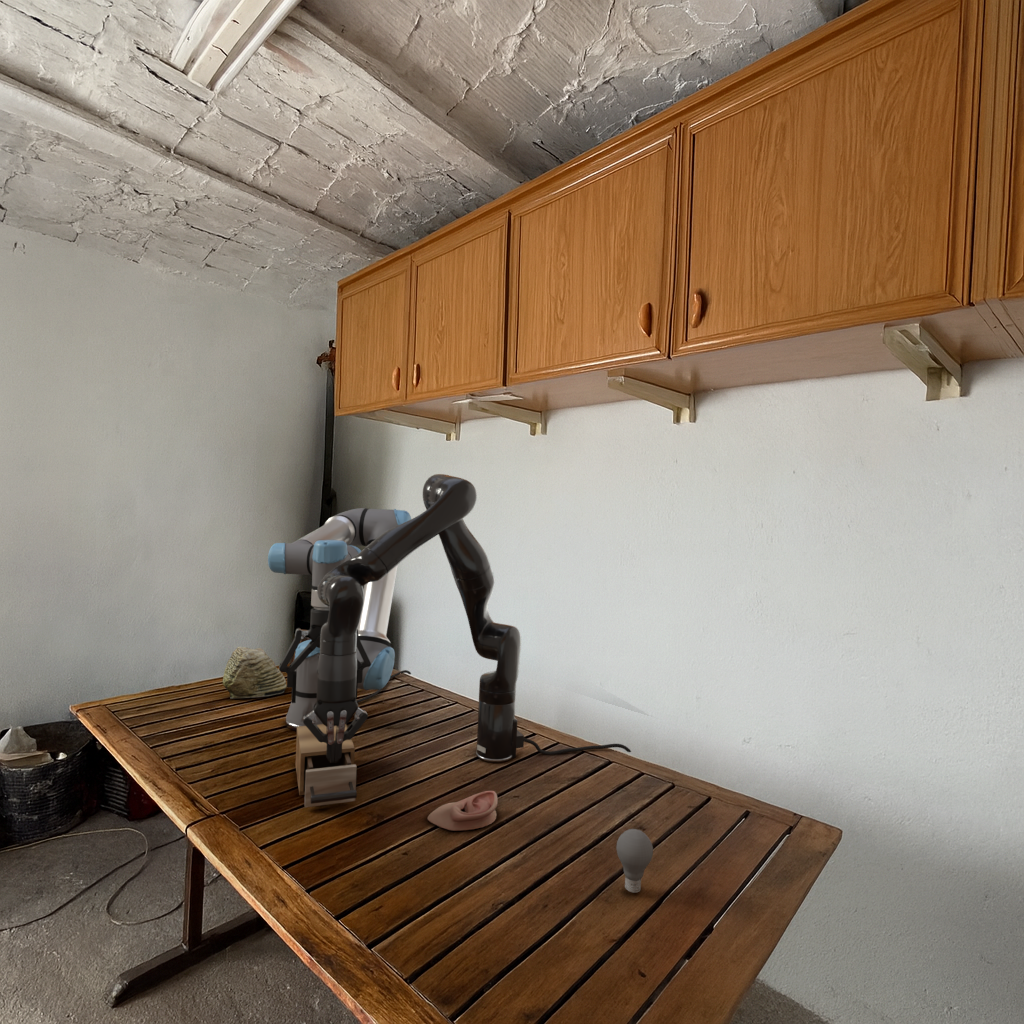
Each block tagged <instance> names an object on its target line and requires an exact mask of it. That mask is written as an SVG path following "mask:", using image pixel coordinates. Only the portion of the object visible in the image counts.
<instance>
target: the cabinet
mask: <svg viewBox="0 0 1024 1024" xmlns="http://www.w3.org/2000/svg"><path fill="white" fill-rule="evenodd" d="M317 726H318V727H319V729H320V730H321V731H322V732H323V733H324V734H326V726H325V725H324V724H321V725H317ZM347 728H348V725H347V724H345V731H346V729H347ZM345 731H344V732H345ZM335 736H336V726H334V740H335ZM295 741H296V742H295V746H296V747H295V771H296V780H297V786H298V795H299V796H305V778H304V766H305V757H306V756H316V755H325V754H326V749H327V744H326V743H325V742H319V741H318V740H317V738H316V737H315V736H314V735H313V734H312V733H311V731H310V730H309V729H308V728H307V727H306V726H298V727H297V731H296V740H295ZM355 751H356V748H355V745H354V742H353V738H352V739H350V740H345V741H344V742H343V743H342V753H345V752H348V754H349V757H350V760H351V765H353V764H355Z"/></svg>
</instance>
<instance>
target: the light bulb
mask: <svg viewBox="0 0 1024 1024" xmlns="http://www.w3.org/2000/svg"><path fill="white" fill-rule="evenodd" d="M615 849H616V854H617V857H618V859H619V861H620V863H621V865H622V867H623V873H624V874H623V875H624V876H625V878H624V888H625V890H627V891H628V892H630V893H634V894H635V893H639V892H640V891H641V889H642V887H641V886H642V879H643V877H644V875H645V871H646V868H647V867H648V866H649V864H650V863H651V861H652V859H653V855H654V847H653V843H652V841H651V838H649V836H648V835H647V834H646V833H645V832H643V831H642V830H641V829H636V828H629V829H627V830H625V831H623V832H622V833H621V834H620V835H619V837H618V839H617V841H616V847H615Z"/></svg>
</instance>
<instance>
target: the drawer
mask: <svg viewBox="0 0 1024 1024" xmlns="http://www.w3.org/2000/svg"><path fill="white" fill-rule="evenodd" d="M357 769H358V767H357V764H356V763H354V764H353V765H351V760H350V757H349V754H348V752H345V753H342V757H341V759H338V762H334V763H330V760H328V759H327V756H326V754H325V755H316V756H306V757H305V766H304V778H305V795H304V803H303V804H304V808H311V807H312V808H313V807H320V806H327V805H335V804H342V803H351V802H356V798H357V794H358V793H357V792H358V791H357Z"/></svg>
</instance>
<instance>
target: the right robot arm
mask: <svg viewBox="0 0 1024 1024" xmlns="http://www.w3.org/2000/svg"><path fill="white" fill-rule="evenodd" d="M477 493H478V492H477V490H476V487H475V486H474V484H473V483H472V482H470V481H469V480H467V479H464V478H462V477H457V476H453V475H449V474H444V473H435V474H433V475H431V476H429V477H428V478H427V479H426V481H425V483H424V484H423V487H422V501H423V505H424V507H425V510H424V511H423V512H422V513H420V514H418V515H417V516H415V517H413V518H411V520H409V521H407V522H405V523H403V524H400V525H398V526H396V527H394V528H392V529H390V530H388V531H386V532H385V533H383V534H382V535H380V536H379V537H378V538H376V539H375V540H374V541H373V542H371V543H370V544H369V545H368V546H364V548H363V549H362V550H361V552H360V553H359V554H358V555H356V556H354V557H353V558H351V559H349V560H347V561H345V562H344V563H342V564H340V565H339V566H337V567H336V568H334V569H333V570H331V571H330V572H329V573H327V574H326V575H325V576H324V577H323V578H322V580H321V581H320V583H319V585H318V589H317V594H318V597H319V599H320V601H321V602H322V603H323V604H325V605H327V606H329V615H328V622H326V623H325V624H324V625H323V626H322V628H321V634H320V655H319V660H318V669H317V674H318V676H317V700H316V703H315V705H314V708H313V709H314V710H313V711H312V712H310V713H309V714H308V715H304V716H303V723H304V724H305V726H306V727H307V728H308V729H309V730H310V731H311V733H312V734H313V735H314V736H315V737H316V738H317V740H318V741H319V742H325V743H326V744H327V749H326V756H327V759H328V760H330V763H334V762H338V759H341V757H342V743H343V742H344V741H345V740H350V739H352V740H353V738H354V736H355V735H356V734H357V733H358V731H359V730H360V728H361V727H362V726H363V724H364V723H366V721H367V719H368V718H369V715H368V713H367V711H366V710H365V709H362V708H360V707H359V703H357V702H356V700H357V698H356V680H357V656H356V648H357V628H358V625H359V622H360V618H361V614H362V609H363V604H364V585H366V584H367V583H369V582H375V581H378V580H380V579H382V578H383V577H384V576H386V575H387V574H388V573H389V572H390V571H391V570H392V569H393V568H395V567H396V566H397V565H398V566H399V565H400V563H402V561H404V560H405V559H406V558H408V557H409V556H410V555H411V554H412V553H414V552H415V551H416V550H417V549H419V548H420V547H423V545H425V544H426V543H428V542H429V541H430V540H432V539H433V538H435V537H437V536H438V537H439V539H440V542H441V545H442V547H443V550H444V554H445V556H446V560H447V561H448V564H449V568H450V571H451V574H452V577H453V579H454V583H455V585H456V588H457V590H458V592H459V595H460V598H461V601H462V604H463V607H464V611H465V614H466V616H467V617H466V618H467V623H468V625H469V631H470V635H471V639H472V643H473V646H474V649H475V651H476V653H477V654H478V655H479V657H481V658H484V659H487V660H491V661H495V662H497V663H496V669H495V670H492V671H488V672H487V671H486V672H484V673H482V674H481V675H480V676H479V684H478V685H479V686H478V687H479V688H478V690H479V691H478V708H477V709H478V710H477V729H476V730H477V732H476V733H477V736H476V750H475V757H477V758H478V759H479V760H481V761H483V762H488V763H505V762H508V761H511V760H512V759H516V758H517V749H522V748H524V747H525V745H524V744H525V743H527V744H530V745H532V746H534V748H535V749H536V751H537V752H538V753H539V754H542V755H545V756H546V755H547V756H553V755H554V756H555V755H562V754H565V753H574V752H583V751H591V750H605V749H611V748H620V749H622V750H625V751H626V752H627V753H632V750H631V749H630V748H629V747H628V746H626V745H624V744H623V743H608V744H600V745H587V746H580V747H579V746H578V747H569V748H563V749H559V750H553V751H547V750H543V749H542V748H541V747H540V746H539V744H538V743H537V742H535V741H534V740H532V739H530V738H526V737H525V735H524V734H523V733H522V732H520V731H519V730H518V719H517V718H516V717H515V716H516V695H517V693H516V692H517V682H518V678H519V673H520V663H521V652H522V635H521V631H520V629H519V628H518V627H517V626H515V625H512V624H506V623H499V622H495V621H494V620H493V618H492V616H491V614H490V610H489V603H490V599H491V598H492V595H493V592H494V589H495V583H496V579H495V575H494V571H493V568H492V565H491V562H490V559H489V557H488V554H487V552H486V551H485V548H483V546H482V545H481V543H479V540H477V538H476V537H475V536H474V534H473V533H472V532H471V531H470V529H469V527H468V526H467V524H466V522H465V520H464V518H466V517H467V516H468V515H470V513H472V511H473V510H474V508H475V506H476V504H477V501H478V494H477ZM315 716H317V717H318V718H319V719H320V721H321V722H322V723H323V724H324V725H325V726H326V734H324V733H323V732H322V731H321V730H320V729H319V727H318V726H317V725H316V724H315V723H316V718H315ZM353 717H354V719H353V720H352V722H351V723H350V724H349V725H348V726H347V729H346V731H345V724H346V725H347V724H348V723H349V722H350V720H351V719H352V718H353ZM334 726H336V736H335V740H334ZM344 731H345V732H344Z"/></svg>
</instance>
